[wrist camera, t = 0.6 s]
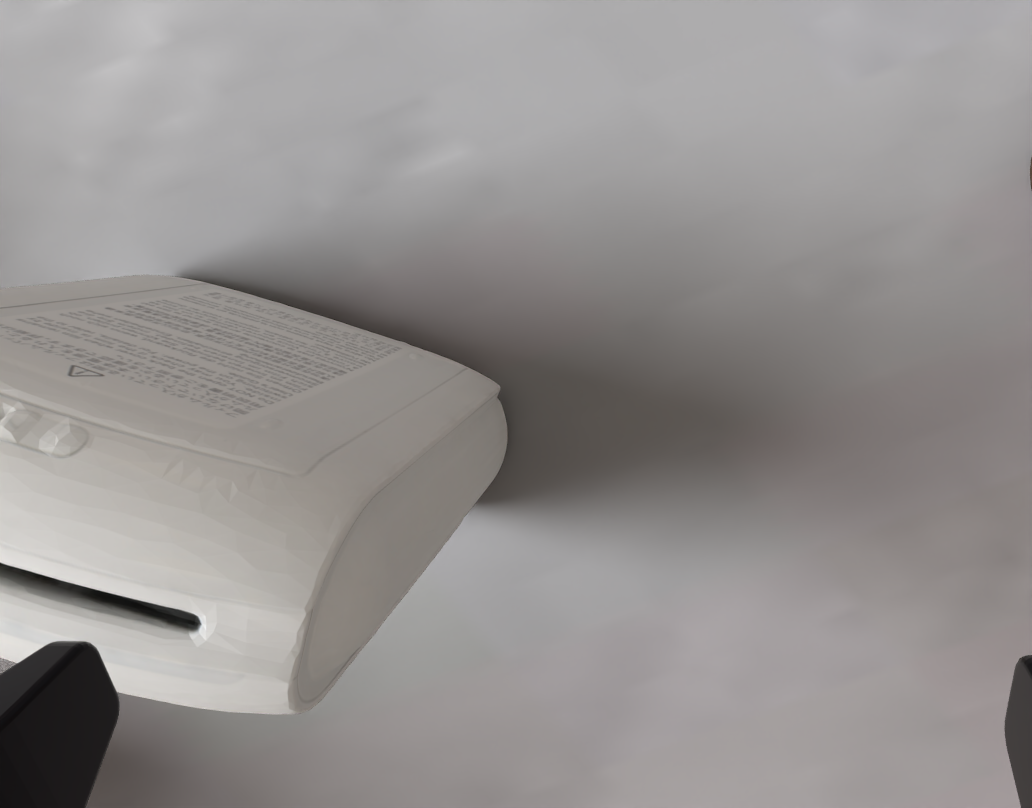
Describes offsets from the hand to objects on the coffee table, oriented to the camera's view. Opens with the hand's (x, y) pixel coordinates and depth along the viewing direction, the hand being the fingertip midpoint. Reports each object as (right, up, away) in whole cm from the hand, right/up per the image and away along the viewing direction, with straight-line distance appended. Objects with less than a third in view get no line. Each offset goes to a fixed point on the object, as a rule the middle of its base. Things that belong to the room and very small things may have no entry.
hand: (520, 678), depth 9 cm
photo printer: (-5, +3, +15) cm, 16 cm away
